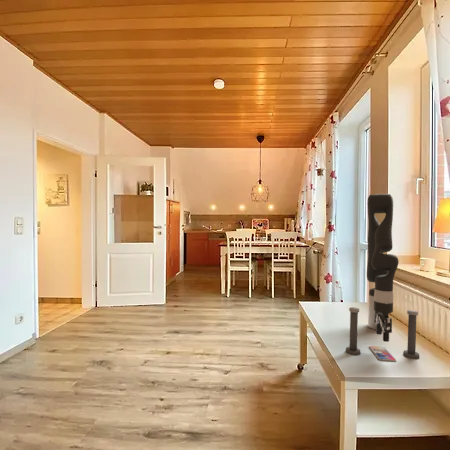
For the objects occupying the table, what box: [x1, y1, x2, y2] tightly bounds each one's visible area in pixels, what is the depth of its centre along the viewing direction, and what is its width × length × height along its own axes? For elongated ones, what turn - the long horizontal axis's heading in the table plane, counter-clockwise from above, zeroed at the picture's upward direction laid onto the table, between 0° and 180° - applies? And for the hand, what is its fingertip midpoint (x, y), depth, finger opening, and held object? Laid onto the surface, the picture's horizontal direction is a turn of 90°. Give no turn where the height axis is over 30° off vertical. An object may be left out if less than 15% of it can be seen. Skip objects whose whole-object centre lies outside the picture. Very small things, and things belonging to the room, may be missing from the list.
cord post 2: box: [402, 309, 420, 360], centre depth 145 cm, size 6×6×19 cm
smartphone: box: [368, 345, 397, 363], centre depth 146 cm, size 7×1×15 cm
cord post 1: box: [345, 306, 361, 356], centre depth 147 cm, size 6×6×19 cm
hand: (382, 337), depth 146 cm, fingers open, 8 cm apart
